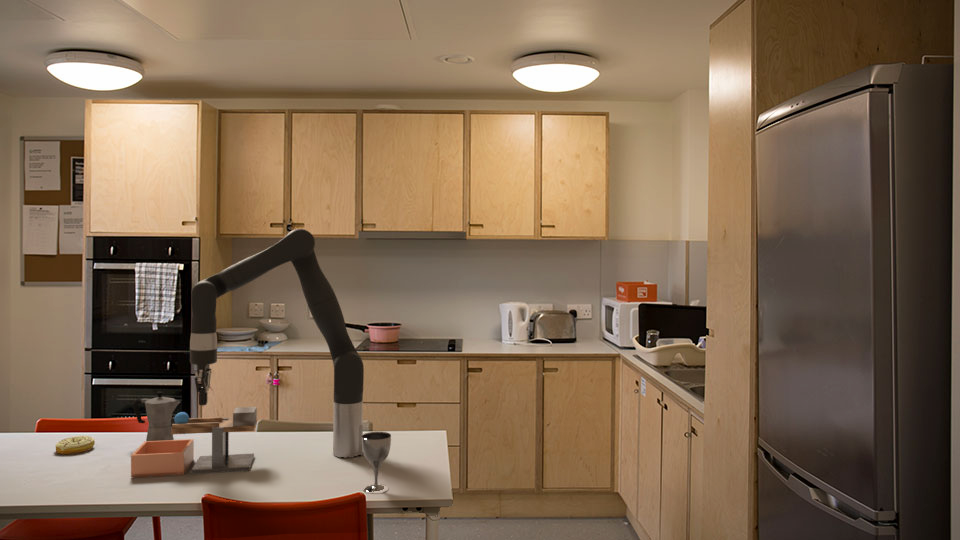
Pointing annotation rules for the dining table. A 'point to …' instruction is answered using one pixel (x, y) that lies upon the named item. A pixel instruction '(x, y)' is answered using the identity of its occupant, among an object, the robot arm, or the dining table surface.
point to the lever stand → (222, 456)
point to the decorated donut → (75, 444)
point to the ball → (181, 418)
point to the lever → (220, 423)
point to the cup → (162, 458)
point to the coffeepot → (157, 416)
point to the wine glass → (376, 453)
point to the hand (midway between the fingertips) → (203, 404)
